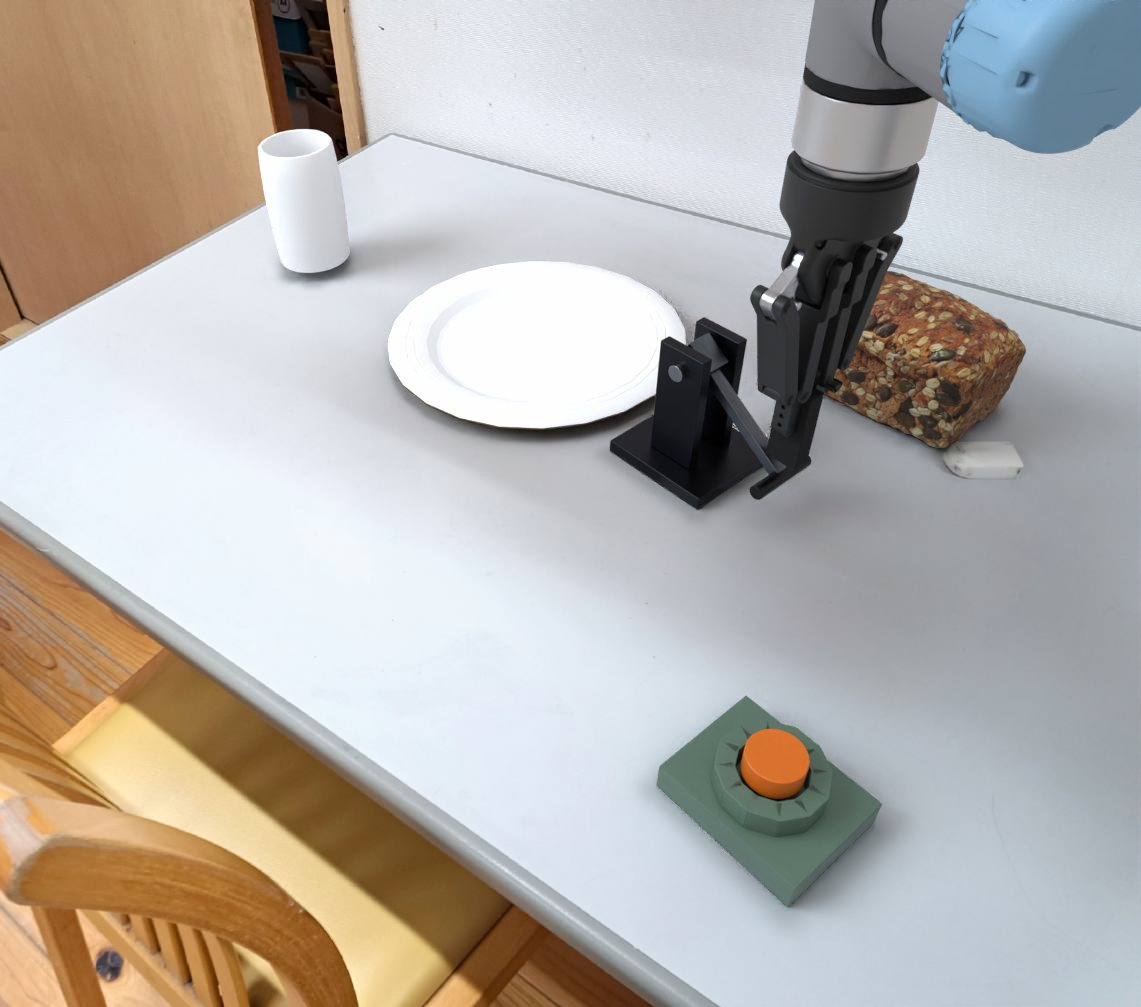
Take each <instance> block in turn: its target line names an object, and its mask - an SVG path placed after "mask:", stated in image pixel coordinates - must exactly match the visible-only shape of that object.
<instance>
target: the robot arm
mask: <svg viewBox="0 0 1141 1007" xmlns="http://www.w3.org/2000/svg"><path fill="white" fill-rule="evenodd" d="M809 28H810V29H809V33H808V40H807V45H806V51H805V58H804V62H805V63H804V69H803V74H802V81H801V85H800V88H799V97H798V103H797V107H796V108H797V109H796V112H795V119H794V122H793V123H794V124H793V129H792V135H791V140H790V141H791V148H792V149H793V150H792V151H791V152H790V153H789V155H788V156H787V159H786V165H785V170H784V176H783V181H782V186H781V193H780V197H779V211H780V214H781V216H782V217H783V219H784V221H785V223H786V224H787V226H788V229H789V232H790V236H789V240H788V243H787V245H786V248H785V250H784V252H783V253H782V256H781V260H780V267H781V273H780V274H779V275H778V277H777V278H776V279H775V281H774V282H773V283H772V284H771V285H770V287H767V286H766V285H762V284H758V285H756V286H755V287H754V288H753V290H752V291H751V293H750V296H749V301H750V304H751V305H752V306H751V307H752V308H753V310H754V312H755V314H756V372H757V373H756V374H757V376H756V377H757V378H756V380H757V384H756V385H757V391H758V392H759V393H761V394H763V395H764V396H767V398H770V399H772V400H773V401H775V403H774V408H773V414H772V418H771V422H770V432H769V435H768V445H767V450H766V454H767V455H769V456H770V457H772V458H774V459H776V460H777V461H779V462H781V463H782V464H784V465H786V466H787V467H789V468H791V469H792V470H794V471H795V470H797V469H798V468H800V467H801V466H803V465H804V464H805V463H807V461H808V457H809V456H810V454H811V450H812V448H811V447H812V445H813V441H814V435H815V432H816V428H817V424H818V421H819V420H818V419H819V416H820V412H821V408H822V403H823V399H824V395H825V394H824V390H825V389H827V390H828V391H830V392H832V393H836V392H838V391H839V390H840V388H841V387H842V385H843V382H842V381H840V380H838V379H836V378H834V377H835V373H836V370H837V369H839V370H841V371H844V370H846V369H847V368H848V367H849V365H850V363H851V361H852V358H853V356H854V353H855V351H856V348H857V346H858V343H859V341H860V338H861V336H862V333H863V331H864V328H865V325H866V323H867V320H868V318H869V315H870V313H871V310H872V308H873V305H874V303H875V300H876V298H877V295H878V293H879V290H880V288H881V285H882V282H883V280H884V277H885V275H886V272H887V271H889V268H890V266H892V263H893V261H894V259H895V258H896V256H897V254H898V252H899V251H900V248H901V247H902V245H903V243H904V237H903V236H902V235H900V234H897V233H895V232H897V231H898V230H899V229H900V228H902V226H903V225H904V224H905V222H906V221H907V218H908V216H909V212H910V209H911V205H912V201H913V198H914V197H913V196H914V193H915V189H916V186H917V183H918V179H919V175H920V165H919V164H918V162H921V160H922V159H923V158H925V155H926V152H927V149H928V144H929V141H930V136H931V133H932V130H933V125H934V122H935V117H936V113H937V110H938V106H939V104H942V105H943V106H945V107H946V108H947V109H949V110H950V111H952V112H953V113H955V115H956V116H958V117H959V118H960V119H961V120H962V121H963V123H964V124H966V125H970V126H971V127H972V128H973V129H975V130H976V131H978V132H981V133H983V132H985V133H987V134H988V135H990V137H992V138H995V139H1000V140H1003V141H1006V142H1007V143H1009V144H1011V145H1013V146H1015V147H1016V148H1018V149H1021V150H1022V151H1026V152H1030V153H1034V154H1041V155H1042V154H1043V155H1055V154H1056V155H1057V154H1064V153H1069V152H1072V151H1073V152H1074V151H1076V150H1078V149H1081V148H1084V147H1086V146H1088V145H1091V143H1092V142H1093V140H1094V139H1095V138H1097V137H1098V136H1100V135H1102V134H1104V133H1105V132H1108V131H1111V130H1116V129H1118V128H1119V127H1120V126H1122V125H1123V124H1125V123H1126V122H1127V121H1128V120H1129V119H1130V118H1132V116H1134V115H1135V114H1136V113H1137V112H1138V111H1139V109H1141V0H814V3H813V8H812V16H811V21H810V27H809Z"/></svg>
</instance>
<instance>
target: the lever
mask: <svg viewBox="0 0 1141 1007" xmlns="http://www.w3.org/2000/svg"><path fill="white" fill-rule="evenodd" d="M686 345H687V346H689V347H690V348H692V349H694V350H696V351H698V352H700V353H701V354H703V355H705V356H707V357H709V358H711V359H712V365H711V372H710V379H709V387H710V389H711V390H712V392H713V393H714V395H715V396H716V398H717V399H718V401H719V402H720V404H721V405H722V407H723V408H724V409H725V411H726V412H727V414H728V415H729V417H730V418H731V420H732V421H733V425H734V426H735V427H736V430H737V431H739V432H740V433H741V435H742V436H743V437H744V439H745V440H746V442H747V443H748V445H749V446H750V448H751V449H752V451H753V452H754V454H755V455H756V457H757V458H758V460H759V461H760V463H761V464H762V465H763V466H762V467H763V468H764V470H765V472H766V473H767V475H766V476H764V477H763V478H761V479H760V480H759V481H757V482H756V483H754V484H752V485H750V487H749V489H748V490H749V494H750V496H751V498H753V499H754V500H757V501H761V500H762V499H764V498H765V497H766V496H768V495H769V494H771V493H772V492H773V491H775V490H776V489H778V488H779V487H781V486H783V485H784V484H785V483H787V482H788V481H789V480H791V479H792V478H794V477H795V476H796V475H798V474H800V473H801V472H803V471H804V470H805V469H807V468H808V467H810V466H811V465H812V457H811V456H810V455H809V457H808V461H807V463H805V464H804V465H803V466H801V467H800V468H798V469H797V470H795V471H794V470H792V469H791V468H789V467H787V466H786V465H784V464H782V463H781V462H779V461H777V460H776V459H774V458H772V457H770V456H769V455H767V454H766V450H767V445H768V440H769V438H767V437H766V435H765V433H764V432H763V430H762V429H761V428H760V426H759V424H758V423H757V422H756V420H755V418H754V417H753V416H752V414H751V413H750V411H749V410H748V408H747V407H746V405H745V404H744V402H743V401H742V399H741V398H740V397H739V394H738V395H737V394H736V392H735V391H734V390H733V388H732V387H731V385H730V384H729V382H728V381H727V379H726V378H725V376H724V375H723V373H722V372H721V370H720V368H721V367H723V366H724V365H725V364H727V363H728V360H727V358H726V357H725V355H724V354H723V352H722V351H721V349H720V348H719V346H718V345H717V344H716V342H715V341H714V339H713V338H712V336H711V335H710V333H707V334H705V335H703V336H701V337H699V338H698V339H696V340H694V339H693V340H692V341H691V342H689V343H688V344H686Z"/></svg>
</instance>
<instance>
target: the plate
mask: <svg viewBox="0 0 1141 1007" xmlns="http://www.w3.org/2000/svg"><path fill="white" fill-rule="evenodd" d="M668 336H670V337H672V338H674V339H676V340H678V341H679V342H681V343H683V344H685V345H687V338H686V328H685V326H684V324H683V322H682V320H681V318H680V316H679V315H678V313H677V311H676V309H675V307H673V306H672V305H671V304H670V303H669V302H668V301H667V300H665V299H664V298H663V297H662V296H661V295H660V294H659V293H658V292H657V291H656V290H654V289H652V288H651V287H648V286H647V285H644V284H643V283H641V282H639V281H637V280H636V279H634V278H633V277H630V276H628V275H624V274H621V273H619V272H615V271H612V270H609V269H605V268H602V267H599V266H595V265H588V264H582V263H581V264H580V263H575V262H570V261H569V262H568V261H553V260H552V261H550V260H549V261H547V260H544V261H543V260H527V261H517V262H509V263H508V262H507V263H500V264H494V265H493V264H492V265H489V266H485V267H481V268H478V269H473V270H469V271H466V272H463V273H460V274H458V275H455V276H453V277H450V278H449V279H446V280H444V281H441V282H440V283H437V284H434V285H432V286H431V287H430V288H428V289H427V290H425V291H424V292H423V293H421V294H420V295H418V296H417V297H416V298H414V299H412V300H411V301H410V302H409V303H408V304H407V306H406V307H405V308H404V309H403V310H402V311H401V312H400V314H399V315H398V316H397V317H396V318H395V319H394V322H393V325H392V327H391V330H390V333H389V336H388V338H387V350H388V361H389V365H390V367H391V369H392V370H393V373H394V374H395V376H396V377H397V378H398V380H399V382H400V384H401V385H402V387H404V389H406V390H407V391H408V392H410V393H411V394H412V395H414V396H415V397H416V398H417V399H419V401H421V402H422V403H424V404H425V405H426V406H428V407H430V408H433V409H436V410H438V411H440V412H442V413H444V414H446V415H449V416H451V417H454V418H456V419H458V420H461V421H465V422H471V423H474V424H480V425H484V426H488V427H493V428H498V429H512V430H513V429H514V430H536V431H546V430H552V429H563V428H570V427H577V426H586V425H589V424H594V423H596V422H599V421H602V420H606V419H609V418H611V417H616V416H619V415H623V414H625V413H627V412H629V411H630V410H632V409H634V408H636V407H637V406H640V405H641V404H643V403H645V402H647V401H648V400H650V399H652V398H653V397H655V396H656V386H657V376H658V365H659V355H660V344H661V340H663V339H665V338H667V337H668Z"/></svg>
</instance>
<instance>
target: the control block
mask: <svg viewBox="0 0 1141 1007" xmlns="http://www.w3.org/2000/svg"><path fill="white" fill-rule="evenodd" d="M764 729H778V730H782V731H785V732H788V733H790V734H792V735H793V736H795V737H796V738H797V739H799V740H800V741H801V742H802V743H803V745H804V746H805V748H806V750H807V752H808V754H809V758H810V766H809V769H808V772H807V775H806V778H805V781H804V784H803V786H802V788H801V789H800V790H799V792H797V793H796V794H795V795H793V796H791V797H788V798H784V799H772V798H768V797H765V796H762V795H760V794H758V793H757V792H755V791H754V790H753V789H752V788H751V787H750V786H749V785H748V784H747V783H746V781H745V780H744V778H743V776H742V773H741V760H742V756H743V752H744V748H745V744H746V742H747V740H748V739H749V738H750V737H751V736H752V735H753V734H754V733H756V732H758V731H760V730H764ZM656 786H657V787H658V788H659V789H660V790H661V791H662V792H663V793H664V794H665V795H666V796H668V797H669V798H670V799H671V800H672V801H673V802H674V803H675V804H676V805H677V806H678V807H679V808H681V810H682V811H683V812H685V813H686V815H688V816H689V817H690V818H691V819H692V820H693V821H694V822H695V823H697V824H698V825H699V827H701V829H703V830H704V831H705V832H706V833H707V834H708V835H709V836H710V837H711V838H713V839H714V841H715V842H717V843H718V844H719V845H720V846H721V847H722V848H723V849H724V850H725V851H727V853H728V854H730V855H731V856H732V857H733V858H734V859H735V860H736V861H737V862H738V863H740V865H741V866H743V868H745V869H746V871H748V872H749V873H750V874H751V875H752V876H753V877H754V878H755V879H757V880H758V882H760V884H761V885H763V886H764V887H765V888H766V889H767V890H769V891H770V893H771V894H773V895H774V897H776V898H777V899H778V900H779V901H780V902H781V903H782V904H783V905H784V906H786V907H787V908H789V907H790V906H791V905H792V904H793V903H794V902H795V901H796V900H798V898H799V897H800V896H801V895H802V894H804V892H805V891H807V889H808V888H809V887H810V886H812V884H813V883H814V882H815V881H816V880H818V879H819V877H821V875H822V874H823V873H824V872H826V870H827V869H828V868H829V867H830V866H831V865H832V864H834V863H835V862H836V860H838V859H839V858H840V857H841V855H843V854H844V853H845V852H846V851H847V850H848V849H849V848H850V847H851V846H852V845H853V844H854V843H855V842H856V841H857V840H858V839H859V838H860V837H861V836H862V835H863V834H864V833H865V832H866V831H867V830H868V829H869V828H870V827H871V826H872V825H873V824H875V821H876V819H877V816H878V814H879V812H880V810H881V808H882V805H883V803H882V802H881V801H880V800H879V799H877V797H875V796H873V795H872V794H871V793H870V792H869V791H867V790H866V789H864V788H863V787H862V786H861V785H860V784H859V783H857V782H855V780H853V779H852V778H851V777H849V776H848V775H847V774H846V773H845V772H843V771H842V770H841V769H839V767H837V766H836V765H834V764H833V763H832V762H830V761H829V760H828V759H827V757H826V755H825V753H824V751H823V749H822V747H821V746H820V744H818V743H817V742H815V740H813V739H812V738H810V737H809V735H806V734H805V733H804V732H803V731H801V730H800V729H799V728H797V727H795V726H793V725H789V724H785V723H782V722H780V721H779V720H778V719H776V717H774V716H773V715H771V714H770V713H769V712H767V710H766V709H764V708H763V707H762V706H760V705H759V704H758V703H756V702H755V701H754V700H753V699H752V698H750V697H749V696H748V695H745V696H743V697H742V698H741V699H739V700H738V701H737V702H736V703H735V704H734V705H733V706H731V707H730V708H729V709H728V710H726V711H725V712H724V713H722V714H721V715H720V716H718V718H716V719H715V720H714V721H713V722H711V724H709V725H708V726H707V727H706V728H704V729H703V730H702V731H700V732H699V733H698V734H697V735H696V736H694V737H693V738H692V739H691V740H689V741H688V742H687V743H686V744H684V745H683V746H682V747H681V748H680V749H679V750H677V751H676V752H675V753H674V754H672V755H671V756H670V757H668V758H667V759H666V760H665V761H663V763H662V764H660V765H659V767H658V773H657V779H656Z"/></svg>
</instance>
